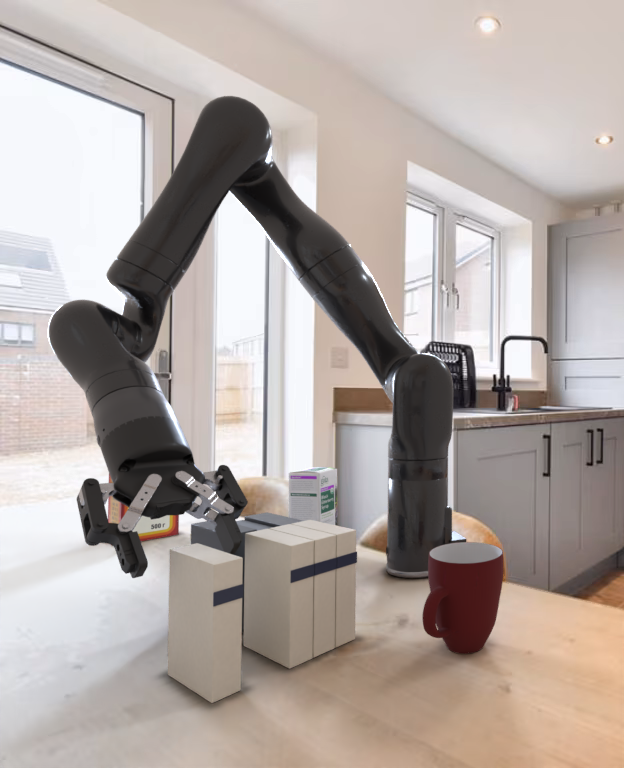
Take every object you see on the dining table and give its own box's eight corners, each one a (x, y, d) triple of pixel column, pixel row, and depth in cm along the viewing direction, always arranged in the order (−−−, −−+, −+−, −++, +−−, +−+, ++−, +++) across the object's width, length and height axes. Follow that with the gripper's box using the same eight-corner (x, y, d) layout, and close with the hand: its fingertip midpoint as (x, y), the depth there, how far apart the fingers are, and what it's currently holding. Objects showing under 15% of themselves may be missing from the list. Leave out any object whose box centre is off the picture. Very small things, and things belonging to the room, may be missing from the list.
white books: (309, 620, 64) (310, 519, 65) (356, 639, 59) (357, 529, 60) (243, 645, 58) (244, 533, 58) (289, 669, 53) (291, 546, 53)
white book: (195, 663, 54) (197, 542, 54) (241, 690, 49) (243, 557, 49) (167, 674, 52) (169, 548, 52) (212, 704, 47) (214, 565, 47)
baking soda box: (164, 529, 108) (165, 448, 108) (178, 534, 104) (180, 451, 104) (107, 539, 100) (109, 452, 100) (120, 545, 96) (122, 455, 97)
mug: (470, 683, 50) (470, 575, 51) (398, 665, 54) (399, 564, 54) (514, 637, 60) (515, 546, 60) (451, 624, 63) (452, 538, 64)
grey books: (266, 593, 73) (267, 509, 73) (306, 609, 68) (307, 518, 68) (189, 618, 65) (190, 523, 65) (228, 637, 60) (229, 535, 60)
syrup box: (319, 562, 87) (320, 471, 87) (287, 559, 88) (288, 470, 88) (338, 552, 92) (339, 467, 93) (307, 549, 94) (308, 466, 94)
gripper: (70, 415, 52) (116, 556, 45) (220, 412, 64) (274, 523, 57) (51, 466, 55) (91, 605, 48) (197, 454, 67) (246, 564, 60)
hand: (190, 560), depth 53 cm, fingers open, 8 cm apart
